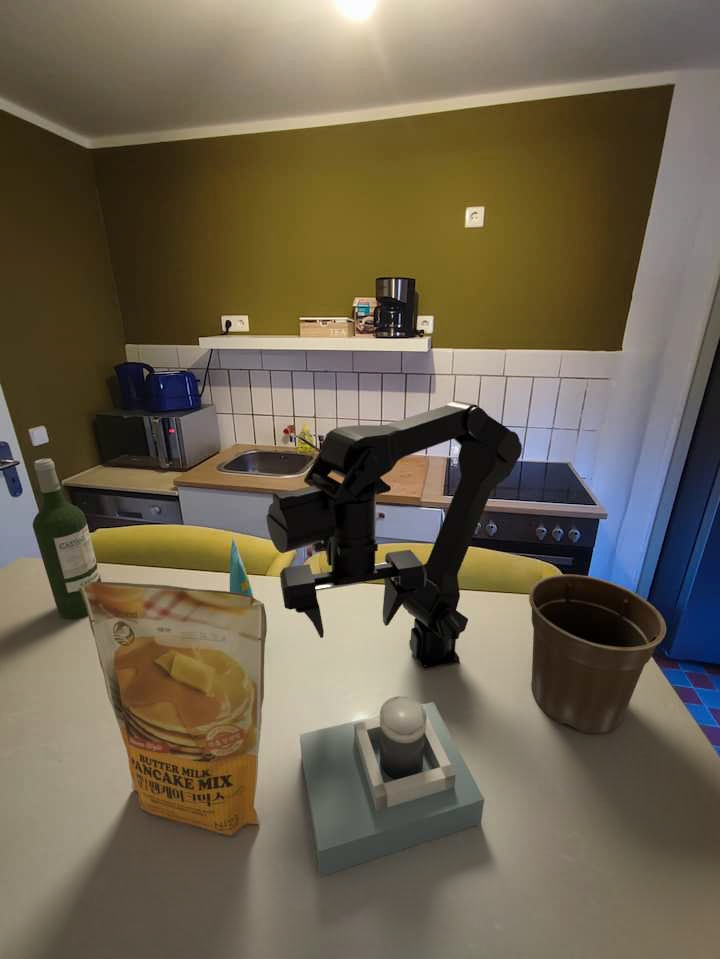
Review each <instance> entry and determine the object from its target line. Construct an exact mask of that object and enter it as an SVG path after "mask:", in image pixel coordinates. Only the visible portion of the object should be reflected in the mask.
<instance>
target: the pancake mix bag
mask: <svg viewBox="0 0 720 959" xmlns="http://www.w3.org/2000/svg"><path fill="white" fill-rule="evenodd" d="M78 590H79V591H80V593H81V595H82V597H83V600H84V603H85V606H86V609H87V613H88V615H87V616H88V621H89V626H90V628H91V633H92V635H93V637H94V642H95V645H96V646H95V647H96V648H97V649H96V650H97V654H98V660H99V664H100V668H101V671H102V673H103V677H104V683H105V689H106V692H107V697H108V700H109V702H110V705H111V708H112V710H113V713H114V716H115V719H116V722H117V724H118V727H119V730H120V734H121V735H120V736H121V739H122V741H123V744H124V746H125V749H126V753H127V757H128V758H127V759H128V767H129V768H128V769H129V772H130V777H131V789H132V790H133V791H135V792H136V793H138V803H139V806H140V808H141V809H142V810H144V811H145V812H146V813H148V814H149V815H151V816H154V817H158V818H162V819H165V820H169V821H172V822H175V823H179V824H183V825H187V826H192V827H196V828H199V829H202V830H204V831H207V832H210V833H214V834H218V835H222V836H227V837H228V836H230V837H235V836H236V835H237V834H238V833H239V832H241V830H243V828H244V827H246V826H247V825H261V822H260V819H259V816H258V813H257V811H256V809H255V799H256V793H257V784H258V783H257V782H258V775H259V774H258V771H259V770H258V769H259V753H260V741H261V740H260V739H261V731H262V730H261V729H262V722H263V721H262V717H263V716H262V714H263V712H262V710H263V703H264V699H265V651H266V650H265V647H266V639H267V638H266V637H267V632H268V629H267V628H268V627H267V626H268V625H267V624H268V623H267V613H266V608H265V604H264V602H262V601H260V600H258V599H256V598H255V597H254V596H253V597H252V596H249V595H245V594H241V593H237V592H230V591H226V590H215V589H214V590H213V589H201V588H200V589H197V588H195V589H194V588H188V587H182V586H180V587H179V586H174V585H168V584H167V585H165V584H155V583H154V584H152V583H150V584H149V583H129V582H115V581H101V582H91V583H89V584H87V585H85V586H83V587H81V588H79V589H78Z"/></svg>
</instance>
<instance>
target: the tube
mask: <svg viewBox="0 0 720 959" xmlns="http://www.w3.org/2000/svg"><path fill="white" fill-rule="evenodd" d="M229 559H230V560H229V592H237V593H241V594H245V595H249V596H252V597H253V598H254V594H253V591H252V587H251V584H250V580H249V576H248V574H247V570H246V568H245V565H244V562H243V560H242V557H241V554H240V551H239V549H238V546H237V543H236V541H235V539H234V536H232V540H231V547H230V558H229Z"/></svg>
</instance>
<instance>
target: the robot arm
mask: <svg viewBox="0 0 720 959" xmlns="http://www.w3.org/2000/svg"><path fill="white" fill-rule="evenodd" d="M452 440H454V441H456V442H457V443H458V445H460V447H459V448H460V449H459V453H458V457H457V460H458V467H459V473H460V474H459V475H460V476H459V477H460V478H459V481H458V483H457V487H456V488H455V491H454V493H453V496H452V498H451V501H450V503H449V506H448V509H447V512H446V514H445V516H444V518H443V521H442V524H441V525H440V526H441V527H440V529H439V531H438V534H437V536H436V538H435V541H434V544H433V547H432V550H431V551H430V554H429V557H428V559H427V561H426V563H424V564H423V563H422V561H421V560H420V559H419V558H418V556H417V555H416V554H415V553H414V552H413V551H412V550H411V549H404V550H398V551H392V552H387V553H386V554H385V556H384V558H385V559H384V562H382V563H376V552H378V548H379V543H378V542H377V540H376V516H377V513H376V510H377V508H376V507H377V506H376V505H377V504H376V503H377V502H376V501H377V499H376V498H377V495H380V494H381V495H382V494H384V493H389V492H390V491H391V489H392V488H391V487H392V486H391V485H389V484H388V483H387V482H385V481H384V480H383V479H382V477H383V476H385V475H386V474H389V473H390V472H391V471H392V470H393V468H395V466H396V465H397V463H398V462H399V461H400V460H403V459H404V458H406V457H408V456H411V455H414V454H416V453H418V452H419V453H420V452H422V451H425V450H427V449H429V448H433V447H434V446H435V447H436V446H439V445H441V444H443V443H446V442H449V441H452ZM520 440H521V439H520V437H519V435H518V433H516V432H515V431H512V430H510V429H509V428H508V427H506V426H505V425H504V424H502V423H500V422H499V421H497V420H496V419H494V418H493V417H491V416H490V415H489V414H487V412H486V411H485V410H484V409H483V408H481V407H480V406H479V405H477V404H473V403H468V402H463V401H458V400H454V401H452V402H448V403H446V405H443V406H441V407H437V408H433V409H431V410H428V411H425V412H422V413H418V414H415V415H413V416H409V417H406V418H402V419H400V420H396V421H393V422H389V423H387V424H381V425H380V424H379V425H374V424H373V425H370V424H369V425H366V424H365V425H363V424H361V425H360V424H358V425H357V424H356V425H349V426H348V425H347V426H339V427H334V428H333V429H332V430H330V431H328V433H326V435H325V438H324V440H323V441H322V444H321V446H320V447H321V448H320V451H319V453H318V455H317V456H316V458H315V460H314V462H313V463H312V465H311V466H310V469H308V472H307V474H306V475H305V477H304V479H303V482H304V483H305V484H306V485H307V486H306V487H302V488H297V489H293V490H281V491H277V492H276V491H275V492H273V494H272V503H271V504H269V506H268V509H267V510H268V511H267V512H268V513H267V514H266V524H267V529H268V534H269V537H270V539H271V541H272V544H273V546H274V547H275V548H276V550H277V551H278V552H279V553H281V554H286V553H289V552H291V551H295V550H299V549H301V548H304V547H308V546H311V545H312V550H313V551H314V552H315V553H319V552H320V553H321V552H325V555H326V562H327V565H328V566H329V567H331V571H327V572H320V573H313V571H312V568H311V566H310V563H307V564H301V565H293V566H288V567H283V568H282V569H281V572H280V573H279V577H280V579H279V580H280V587H281V592H282V599H283V605H284V608H285V609H288V610H295V612H296V613H297V614H300V613H304V615H306V616H307V618H308V619H309V620H310V621H311V623H312V625H313V626H314V628H315V630H316V632H317V634H318V636H319V637H320V638H321V639H323V638H324V634H325V632H324V631H325V630H324V625H323V624H324V623H323V619H322V614H321V613H322V612H321V609H320V604H319V600H318V596H317V592H318V591H324V590H325V591H326V590H331V589H336V588H341V587H348V586H355V585H361V584H362V585H363V584H365V583H366V582H372V581H377V580H384V592H383V604H382V622H383V624H384V627H386V626H389V624H390V623H391V621H392V620H393V618H394V617H395V615H397V612H398V610H400V608H401V607H402V608H403V609H404V610H406V611H407V612H408V614H409V615H411V616H413V618H414V622H413V627H412V628H411V630H410V639H409V641H408V643H409V646H410V649H411V651H412V653H413V655H414V657H415V659H417V661H418V662H419V664H420V666H421V668H422V669H423V670H428V669H432V668H436V667H442V666H446V665H451V664H455V663H459V662H460V656H459V655H458V653H457V651H456V644H457V640H458V639H459V638H460V634H462V633H463V632H465V631H466V627H467V625H468V622H469V618H467V617H466V616H465V615H463V613H461V612H460V611H458V610H457V608H458V605H459V602H460V597H461V593H460V586H459V577H458V574H459V571H460V569H461V567H462V564H463V562H464V560H465V557H466V555H467V552H468V550H469V547H470V545H471V542H472V540H473V537H474V534H475V532H476V530H477V527H478V526H479V522H480V520H481V518H482V515H483V512H484V510H485V508H486V505H487V502H488V500H489V498H490V496H491V493H492V492H493V489H494V488H495V487H497V486H498V485H499V484H501V483H502V482H503V481H504V480H506V479H507V478H508V477H509V476H510V475H511V473H512V471H513V469H514V468H515V466H516V463H518V460H519V459H520V457H521V455H522V451H523V445H522V443H521V441H520ZM331 473H333V474H335V475H338V476H339V477H341V478H343V480H342V482H339V481H338V480H336V479H335V478H333V477H330V476H329V475H330V474H331Z"/></svg>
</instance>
